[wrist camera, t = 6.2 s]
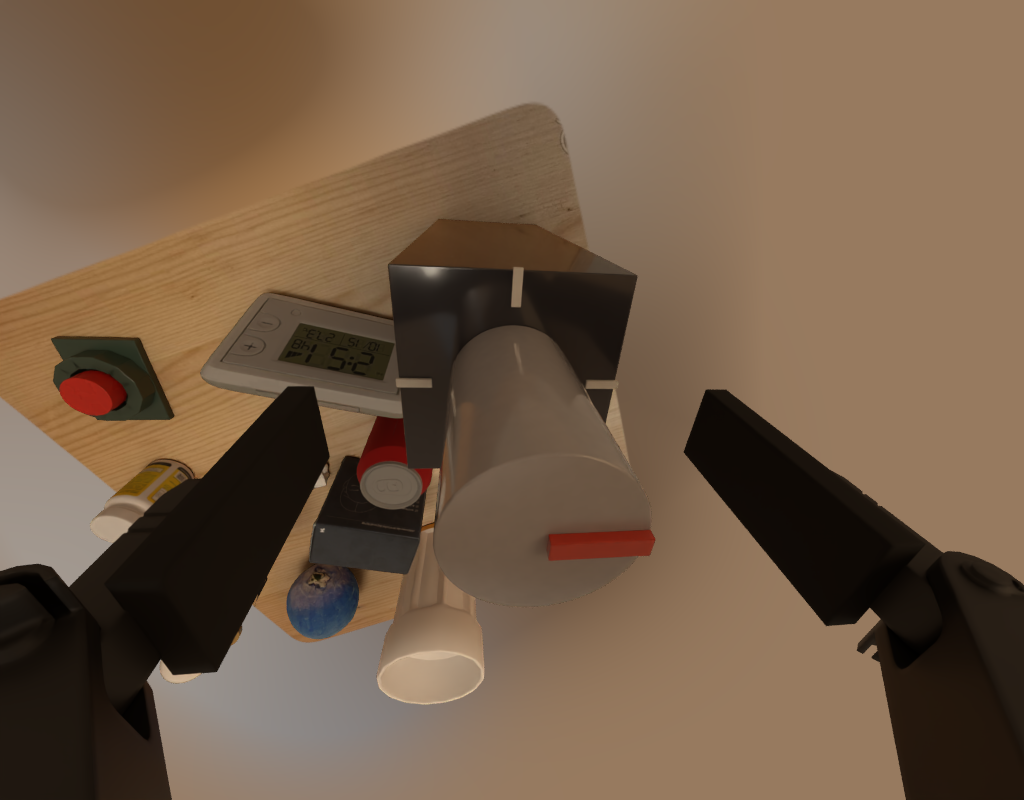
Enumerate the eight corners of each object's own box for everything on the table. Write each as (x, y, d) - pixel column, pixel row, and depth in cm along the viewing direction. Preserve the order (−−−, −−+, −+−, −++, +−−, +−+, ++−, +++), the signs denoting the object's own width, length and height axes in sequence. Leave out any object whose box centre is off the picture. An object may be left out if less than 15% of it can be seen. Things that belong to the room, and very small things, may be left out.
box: (337, 493, 48) (306, 564, 39) (344, 454, 45) (312, 520, 36) (419, 507, 50) (408, 577, 41) (430, 471, 47) (421, 537, 38)
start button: (68, 369, 35) (49, 377, 33) (115, 370, 35) (99, 378, 34) (89, 406, 37) (72, 415, 35) (134, 406, 37) (119, 415, 36)
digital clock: (438, 331, 39) (428, 375, 29) (408, 400, 42) (391, 458, 33) (269, 258, 34) (194, 283, 24) (252, 343, 37) (180, 393, 28)
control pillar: (437, 217, 33) (383, 261, 12) (537, 223, 34) (643, 273, 14) (440, 317, 38) (405, 473, 17) (529, 319, 39) (599, 469, 18)
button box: (57, 336, 35) (30, 345, 33) (139, 337, 36) (117, 347, 34) (102, 416, 39) (81, 429, 37) (174, 416, 40) (157, 429, 38)
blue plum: (320, 603, 42) (332, 667, 50) (368, 545, 50) (372, 608, 57) (259, 574, 44) (280, 640, 52) (314, 522, 51) (325, 586, 59)
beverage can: (441, 438, 45) (433, 513, 35) (384, 440, 44) (358, 517, 34) (437, 390, 42) (426, 455, 31) (375, 391, 41) (344, 459, 31)
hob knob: (451, 434, 16) (436, 626, 9) (447, 323, 14) (423, 467, 7) (562, 432, 17) (632, 613, 10) (577, 325, 14) (686, 460, 7)
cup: (392, 524, 51) (360, 662, 36) (472, 509, 51) (474, 641, 36) (414, 574, 57) (394, 712, 42) (486, 561, 57) (493, 694, 42)
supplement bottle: (142, 476, 43) (76, 533, 36) (158, 451, 42) (93, 505, 35) (186, 495, 45) (132, 553, 38) (202, 471, 44) (150, 527, 37)
